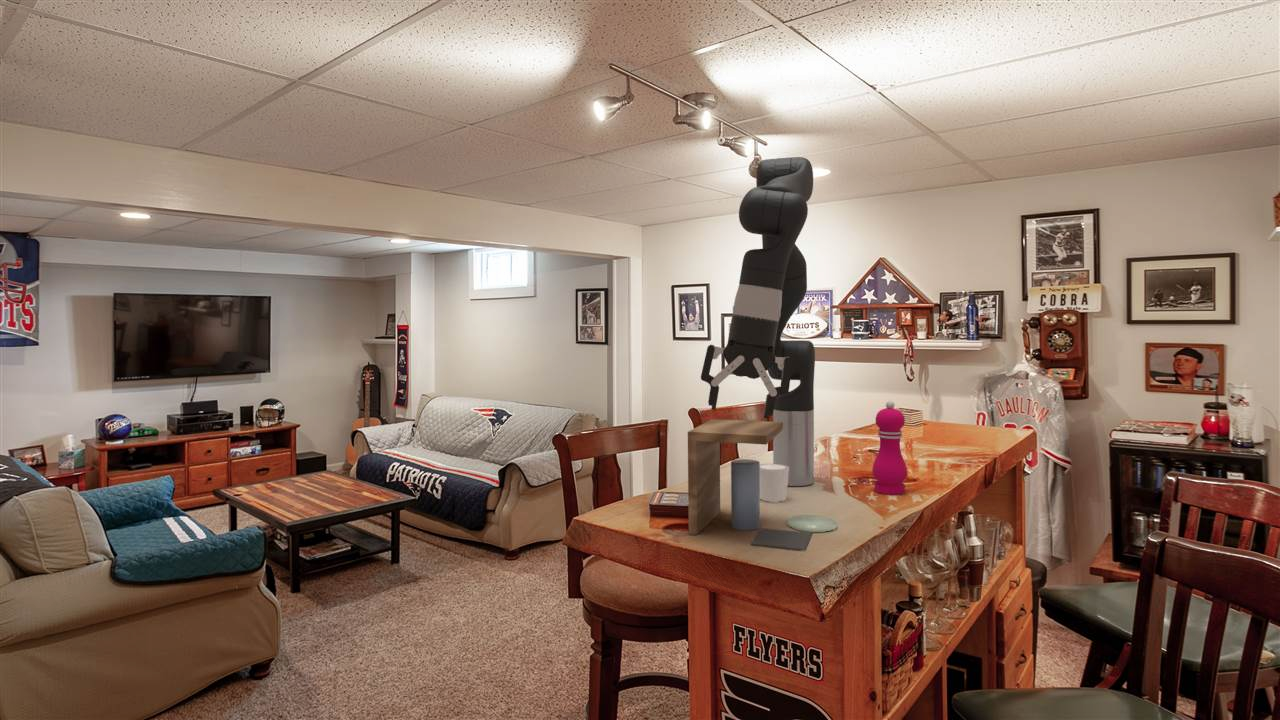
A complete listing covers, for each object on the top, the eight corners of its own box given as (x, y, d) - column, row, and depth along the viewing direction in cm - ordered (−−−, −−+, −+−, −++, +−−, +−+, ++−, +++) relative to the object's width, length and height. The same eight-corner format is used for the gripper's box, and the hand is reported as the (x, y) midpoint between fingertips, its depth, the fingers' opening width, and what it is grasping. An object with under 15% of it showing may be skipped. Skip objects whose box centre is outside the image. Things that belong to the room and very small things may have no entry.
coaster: (779, 520, 127) (779, 517, 127) (821, 516, 129) (821, 513, 129) (801, 534, 118) (801, 531, 118) (847, 530, 120) (847, 526, 120)
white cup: (789, 503, 138) (789, 470, 138) (755, 502, 140) (755, 469, 139) (788, 495, 145) (788, 463, 145) (756, 494, 146) (756, 462, 146)
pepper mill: (884, 496, 143) (885, 403, 141) (865, 488, 150) (866, 400, 148) (914, 494, 144) (915, 402, 143) (894, 486, 151) (894, 398, 150)
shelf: (783, 517, 129) (782, 422, 128) (766, 542, 114) (766, 435, 113) (713, 510, 134) (712, 419, 133) (688, 534, 119) (687, 431, 118)
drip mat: (761, 529, 122) (761, 527, 122) (812, 534, 118) (812, 533, 118) (750, 545, 113) (750, 543, 113) (804, 551, 110) (804, 549, 110)
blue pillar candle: (727, 523, 126) (726, 460, 125) (752, 521, 127) (752, 458, 126) (737, 531, 121) (737, 466, 120) (764, 529, 122) (764, 464, 121)
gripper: (797, 322, 111) (781, 417, 112) (712, 309, 112) (697, 403, 114) (802, 322, 103) (784, 424, 105) (711, 308, 105) (694, 409, 106)
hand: (739, 413), depth 109 cm, fingers open, 8 cm apart
